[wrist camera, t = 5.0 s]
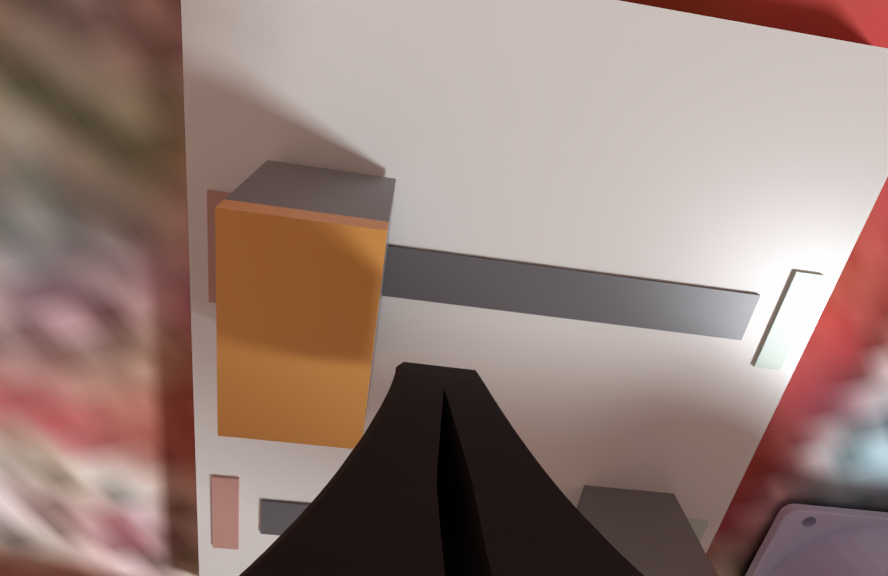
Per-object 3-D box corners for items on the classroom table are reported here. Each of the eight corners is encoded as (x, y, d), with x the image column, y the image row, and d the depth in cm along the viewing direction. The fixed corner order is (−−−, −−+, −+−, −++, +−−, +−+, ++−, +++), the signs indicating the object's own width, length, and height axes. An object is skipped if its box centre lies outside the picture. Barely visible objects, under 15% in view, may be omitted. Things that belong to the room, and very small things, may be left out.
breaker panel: (881, 54, 15) (1128, 72, 10) (636, 615, 24) (695, 781, 19) (211, -66, 13) (75, -120, 8) (218, 584, 22) (156, 756, 17)
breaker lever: (396, 178, 14) (387, 230, 10) (374, 357, 16) (360, 450, 12) (266, 160, 13) (214, 207, 10) (262, 345, 15) (217, 435, 12)
